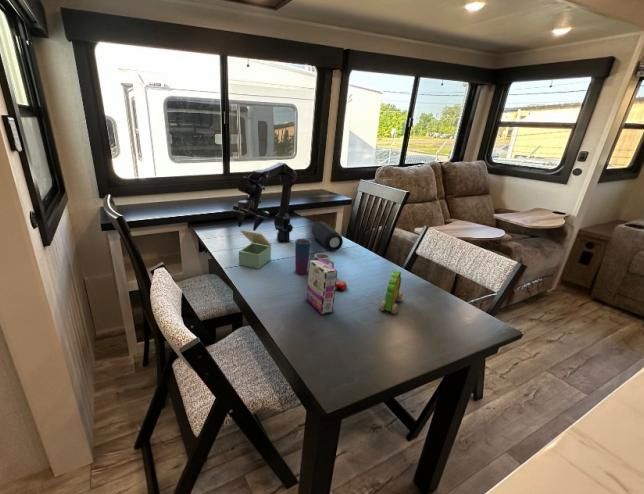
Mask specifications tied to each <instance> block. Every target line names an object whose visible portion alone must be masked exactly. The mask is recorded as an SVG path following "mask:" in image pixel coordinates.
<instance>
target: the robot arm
mask: <svg viewBox="0 0 644 494" xmlns="http://www.w3.org/2000/svg"><path fill="white" fill-rule="evenodd" d="M277 175H279V177H280V178H279V179H280V181H279V182H280V183H281V186H282V187H281V194H280V203H279V209H278V210H279V211H278V213H277V214H275V215H274V220H273V225H274V230H277V231H276V240H277V242H278V243H290V242H291V240H290V234H291V233H292V231H293V229H294V227H293V225H292V224H291V217H290V215H289V209H290V201H291V194H292V189H293V186H294V185H295V184H296V180H297V177H298V174H297V172H296V170H295V169H294V168H292V167H291V166H289V164H287V163H285V162H277V163H276V164H273V165H270V166H269V167H267V168H264V169H254V170H253V171H251V174H250V175H248V177H247V176H243V177H242V179H240V181H238V183H237V190H238V191H239V192H240V193H243V194H246V195H248V196H246V197H245V199H242V200H238V201H237V204H233V207H232V211H233V212H234V213H235V214H236V218H237V225H238V226H237V227H238V228H241V227H242V225H243V222H244V220H245V217H246V213H249V214H252V215H254V224H253V228H252V231H253V232H255V231H256V230H257V229H258V228H259V226H260V225H261V224H262V223H263V222H264V221H266V220H267V219H270V212H269V211H266V210H264V209H260V208H259V204H261V203H262V200H261V197H262V192H263V191H266V187H265V186H264V185H265V184H266V183H267V182H269V181H270V179H271V178H272V177H274V176H277Z"/></svg>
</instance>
